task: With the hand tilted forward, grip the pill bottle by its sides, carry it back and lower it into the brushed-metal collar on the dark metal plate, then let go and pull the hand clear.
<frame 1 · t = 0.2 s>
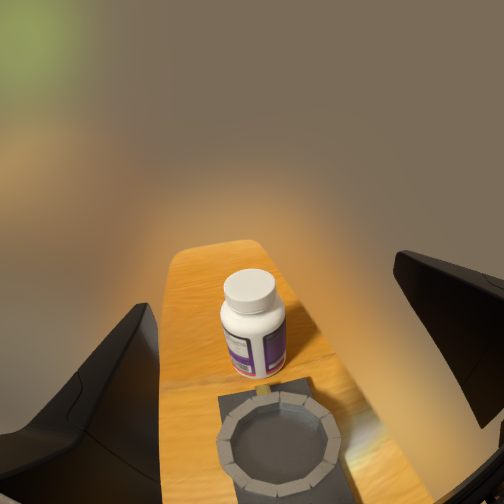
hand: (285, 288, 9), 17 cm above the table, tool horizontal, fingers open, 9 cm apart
collar: (279, 449, 17), resting on plate
plate: (282, 459, 16), on the table
pill bottle: (258, 359, 26), on the table
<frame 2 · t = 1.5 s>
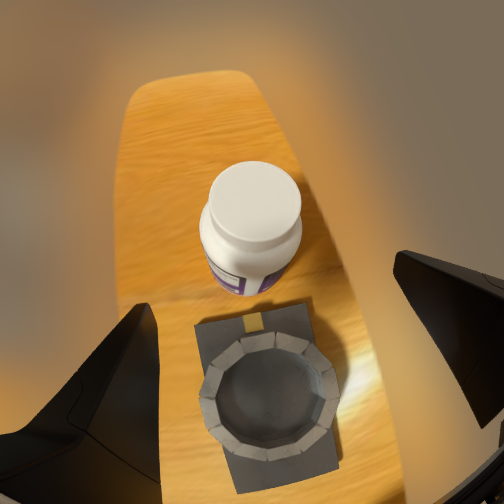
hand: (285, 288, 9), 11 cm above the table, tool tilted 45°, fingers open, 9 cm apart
collar: (267, 394, 18), resting on plate
plate: (270, 406, 17), on the table
pill bottle: (245, 262, 21), on the table
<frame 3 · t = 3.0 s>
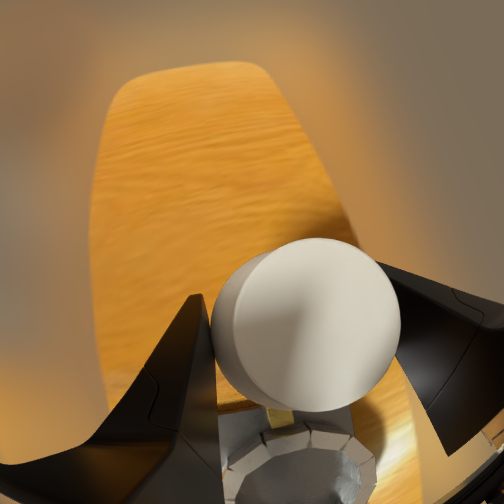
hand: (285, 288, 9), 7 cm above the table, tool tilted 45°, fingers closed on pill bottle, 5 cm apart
collar: (293, 480, 12), resting on plate
plate: (295, 491, 12), on the table
pill bottle: (268, 332, 15), on the table, touching gripper
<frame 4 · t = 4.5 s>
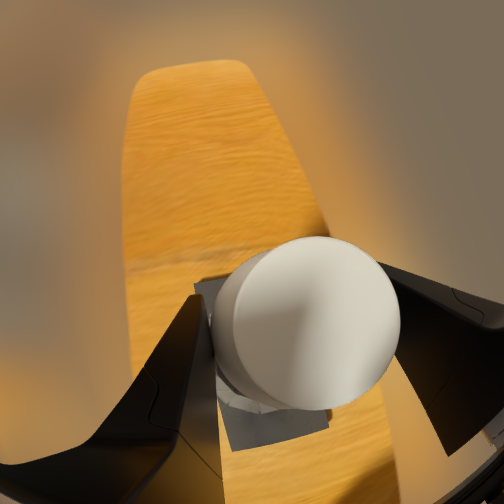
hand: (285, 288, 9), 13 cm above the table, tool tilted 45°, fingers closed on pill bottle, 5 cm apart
collar: (260, 350, 20), resting on plate
plate: (262, 362, 20), on the table
pill bottle: (268, 331, 15), point 6 cm above the table, touching gripper
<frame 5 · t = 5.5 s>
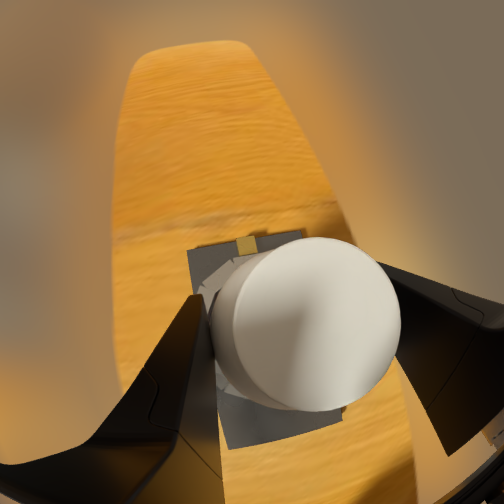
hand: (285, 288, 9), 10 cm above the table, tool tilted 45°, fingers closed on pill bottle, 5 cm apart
collar: (262, 328, 18), resting on plate
plate: (265, 342, 17), on the table
pill bottle: (268, 331, 15), point 3 cm above the table, touching gripper
when the fingers open (8 cm above the table, at t = 6.2 s): pill bottle stays where it is, resting on plate.
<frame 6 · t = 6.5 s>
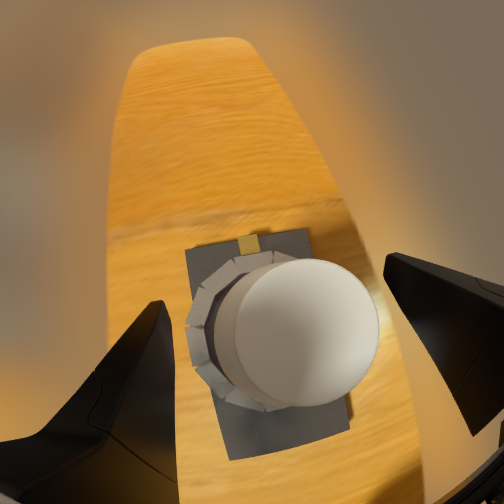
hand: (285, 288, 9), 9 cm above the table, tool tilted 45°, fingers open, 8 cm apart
collar: (265, 332, 17), resting on plate
plate: (268, 347, 16), on the table
pill bottle: (266, 334, 16), point 1 cm above the table, touching plate
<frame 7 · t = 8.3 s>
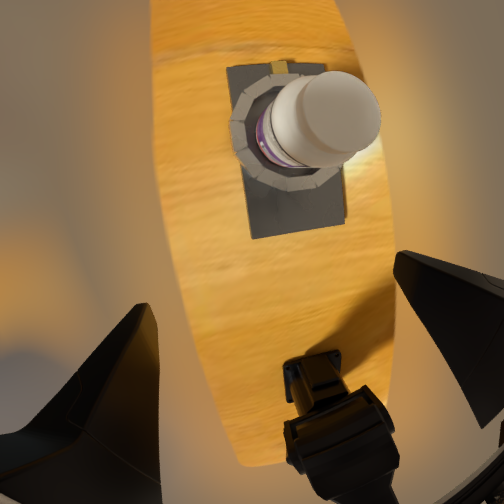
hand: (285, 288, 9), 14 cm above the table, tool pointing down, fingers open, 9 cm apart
collar: (286, 133, 20), resting on plate
plate: (287, 145, 20), on the table
pill bottle: (288, 134, 20), point 1 cm above the table, touching plate
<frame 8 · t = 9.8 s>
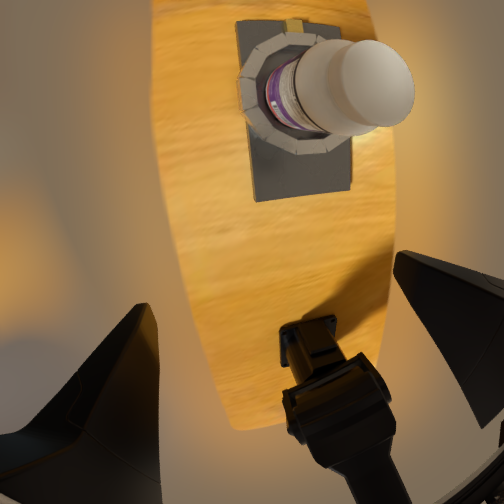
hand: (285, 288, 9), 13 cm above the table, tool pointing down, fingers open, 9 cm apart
collar: (296, 93, 18), resting on plate
plate: (297, 106, 18), on the table
pill bottle: (299, 95, 17), point 1 cm above the table, touching plate
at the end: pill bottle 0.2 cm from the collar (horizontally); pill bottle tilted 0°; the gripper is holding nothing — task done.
